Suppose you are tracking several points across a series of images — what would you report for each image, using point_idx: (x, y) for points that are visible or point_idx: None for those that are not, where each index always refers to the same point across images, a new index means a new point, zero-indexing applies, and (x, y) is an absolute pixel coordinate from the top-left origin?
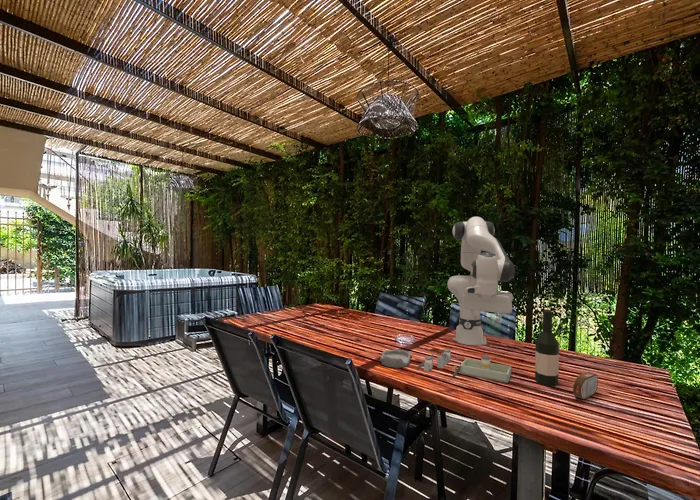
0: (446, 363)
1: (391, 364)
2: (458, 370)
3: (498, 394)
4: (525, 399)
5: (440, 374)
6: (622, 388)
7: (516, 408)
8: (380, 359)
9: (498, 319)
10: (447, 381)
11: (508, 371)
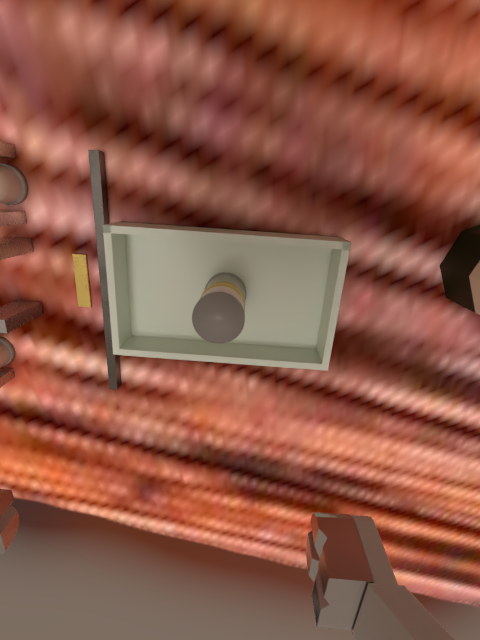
0: (29, 248)
1: None
2: None
3: (286, 459)
4: (366, 460)
5: (65, 381)
6: None
7: None
8: None
9: (358, 621)
10: (114, 432)
11: (331, 332)
